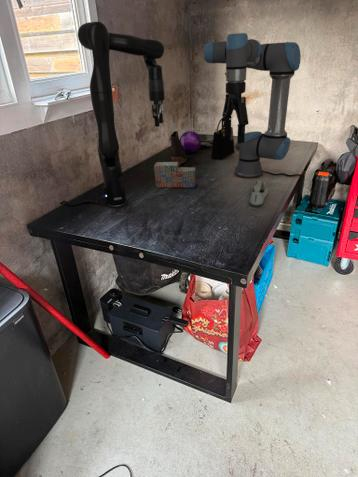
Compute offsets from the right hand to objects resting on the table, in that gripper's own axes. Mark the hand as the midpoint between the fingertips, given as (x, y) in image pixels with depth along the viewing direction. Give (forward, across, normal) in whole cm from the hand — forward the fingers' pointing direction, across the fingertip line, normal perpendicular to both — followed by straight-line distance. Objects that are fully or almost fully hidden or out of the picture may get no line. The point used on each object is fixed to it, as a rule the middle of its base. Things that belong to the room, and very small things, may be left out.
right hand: (233, 139), depth 134 cm
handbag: (+32, -81, +28) cm, 92 cm away
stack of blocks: (+32, -40, -16) cm, 53 cm away
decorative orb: (+32, -97, +9) cm, 103 cm away
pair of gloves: (+32, -115, +30) cm, 123 cm away
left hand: (0, -43, -22) cm, 48 cm away
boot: (+32, -79, -4) cm, 85 cm away
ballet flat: (+32, -8, +17) cm, 37 cm away
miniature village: (+32, -93, +58) cm, 114 cm away
